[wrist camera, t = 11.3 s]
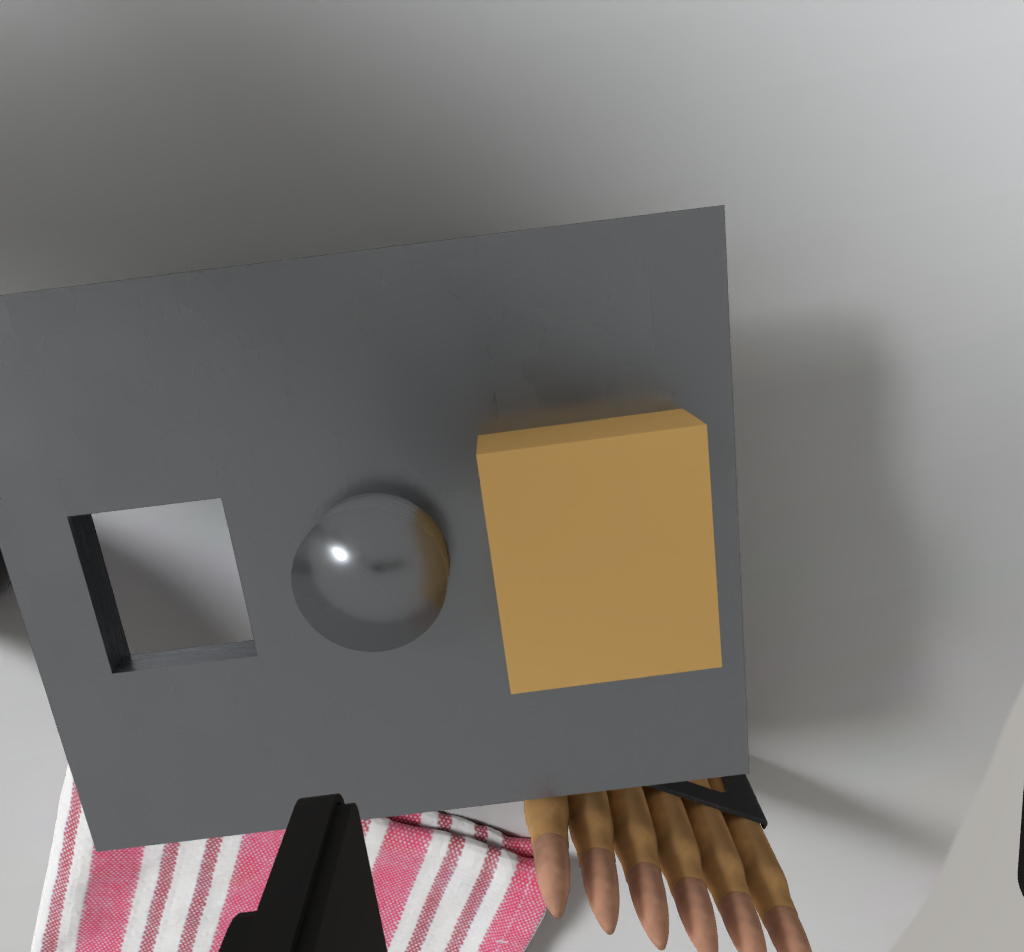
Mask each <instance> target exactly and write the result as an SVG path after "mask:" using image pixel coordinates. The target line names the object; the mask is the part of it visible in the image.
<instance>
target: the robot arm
mask: <svg viewBox="0 0 1024 952" xmlns="http://www.w3.org/2000/svg"><path fill="white" fill-rule="evenodd" d="M1018 882H1019V886H1020V889H1021V892H1022V894H1023V896H1024V791H1023V805H1022V819H1021V834H1020V849H1019V862H1018ZM218 952H388V951H387V946H386V941H385V936H384V931H383V927H382V922H381V917H380V912H379V907H378V902H377V897H376V892H375V888H374V883H373V878H372V873H371V868H370V863H369V858H368V854H367V849H366V844H365V839H364V834H363V829H362V824H361V819H360V815H359V810H358V807H357V805H356V803H348V804H345V803H344V799H343V797H342V795H341V794H339V793H338V794H330V795H322V796H314V797H306V798H300V799H299V800H297V802H296V804H295V806H294V809H293V812H292V814H291V817H290V820H289V823H288V825H287V828H286V831H285V834H284V836H283V839H282V842H281V845H280V847H279V850H278V853H277V856H276V858H275V861H274V864H273V867H272V869H271V872H270V875H269V878H268V880H267V883H266V886H265V889H264V891H263V894H262V897H261V900H260V902H259V905H258V908H257V911H250V912H242V913H238V914H237V915H236V916H235V917H234V918H233V919H232V921H231V923H230V925H229V927H228V929H227V931H226V934H225V936H224V939H223V941H222V944H221V946H220V949H219V951H218Z"/></svg>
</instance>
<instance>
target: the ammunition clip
mask: <svg viewBox="0 0 1024 952" xmlns="http://www.w3.org/2000/svg"><path fill="white" fill-rule="evenodd" d="M524 812H525V819H526V824H527V827H528V830H529V833H530V835H531V843H532V850H533V853H534V864H535V870H536V875H537V880H538V884H539V888H540V891H541V894H542V897H543V899H544V902H545V904H546V906H547V908H548V910H549V911H550V913H551V914H552V916H553V917H554V918H556V919H559V918H560V917H561V916H562V914H563V912H564V910H565V907H566V903H567V898H568V893H569V885H570V860H569V851H568V848H569V841H568V826H569V830H570V835H571V839H572V841H573V844H574V846H575V848H576V850H577V855H578V860H579V864H580V868H581V870H582V876H583V882H584V887H585V890H586V894H587V897H588V900H589V903H590V906H591V908H592V911H593V913H594V915H595V917H596V919H597V921H598V922H599V924H600V926H601V927H602V928H603V930H604V931H605V932H606V933H607V934H609V935H611V934H613V933H614V931H615V928H616V925H617V921H618V914H619V883H618V875H617V869H616V864H615V862H616V860H615V853H614V850H615V852H616V855H617V857H618V859H619V861H620V863H621V865H622V868H623V871H624V875H625V878H626V881H627V883H628V886H629V890H630V895H631V898H632V902H633V905H634V907H635V910H636V913H637V915H638V918H639V920H640V922H641V924H642V926H643V928H644V930H645V932H646V933H647V935H648V937H649V938H650V940H651V941H652V943H653V944H654V945H655V946H656V947H657V948H658V949H659V950H664V949H665V947H666V944H667V940H668V934H669V914H668V905H667V898H666V892H665V887H664V883H663V879H662V873H663V874H664V876H665V878H666V880H667V883H668V886H669V888H670V891H671V894H672V896H673V898H674V901H675V904H676V907H677V910H678V913H679V916H680V918H681V921H682V923H683V925H684V928H685V930H686V932H687V934H688V936H689V937H690V939H691V941H692V943H693V944H694V946H695V947H696V949H697V951H698V952H718V935H717V926H716V920H715V915H714V911H713V906H712V903H711V900H710V897H709V894H708V891H707V888H708V890H709V891H710V893H711V894H712V897H713V899H714V901H715V904H716V906H717V909H718V911H719V912H720V914H721V917H722V919H723V922H724V924H725V927H726V929H727V931H728V934H729V936H730V938H731V940H732V942H733V944H734V946H735V947H736V949H737V951H738V952H767V948H766V942H765V938H764V934H763V930H762V927H761V923H760V920H759V917H758V915H757V912H758V914H759V916H760V918H761V920H762V922H763V924H764V926H765V928H766V929H767V931H768V934H769V936H770V938H771V940H772V942H773V944H774V946H775V948H776V950H777V952H812V950H811V947H810V944H809V941H808V938H807V936H806V933H805V931H804V929H803V926H802V924H801V922H800V920H799V918H798V913H797V911H796V909H795V906H794V904H793V902H792V899H791V897H790V893H789V888H788V884H787V880H786V878H785V875H784V873H783V871H782V869H781V867H780V865H779V863H778V861H777V859H776V857H775V854H774V852H773V850H772V848H771V846H770V844H769V842H768V840H767V838H766V836H765V834H764V832H763V830H762V828H763V829H765V828H766V826H767V820H766V818H765V816H764V814H763V812H762V809H761V807H760V805H759V803H758V801H757V799H756V796H755V794H754V792H753V790H752V788H751V786H750V783H749V781H748V779H747V777H746V775H745V774H740V775H732V776H724V777H715V778H707V779H699V780H690V781H682V782H674V783H665V784H657V785H649V786H640V787H632V788H624V789H616V790H607V791H599V792H591V793H582V794H574V795H566V796H557V797H549V798H541V799H532V800H524ZM760 823H761V825H760ZM761 826H762V828H761ZM661 871H662V873H661ZM755 908H756V909H755ZM756 910H757V912H756Z"/></svg>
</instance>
